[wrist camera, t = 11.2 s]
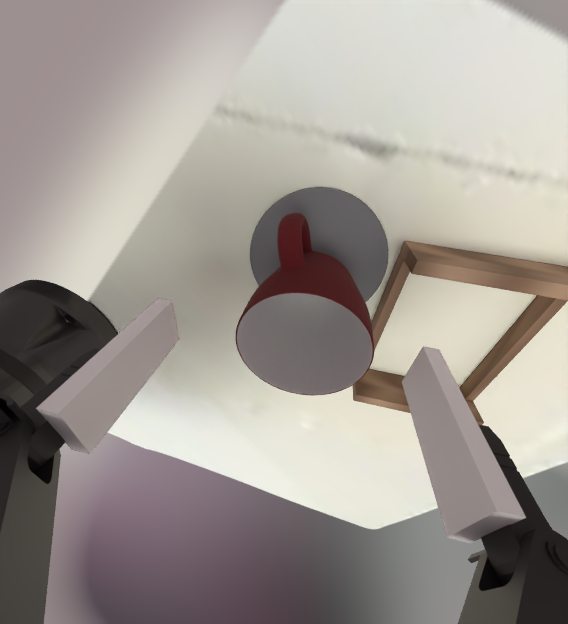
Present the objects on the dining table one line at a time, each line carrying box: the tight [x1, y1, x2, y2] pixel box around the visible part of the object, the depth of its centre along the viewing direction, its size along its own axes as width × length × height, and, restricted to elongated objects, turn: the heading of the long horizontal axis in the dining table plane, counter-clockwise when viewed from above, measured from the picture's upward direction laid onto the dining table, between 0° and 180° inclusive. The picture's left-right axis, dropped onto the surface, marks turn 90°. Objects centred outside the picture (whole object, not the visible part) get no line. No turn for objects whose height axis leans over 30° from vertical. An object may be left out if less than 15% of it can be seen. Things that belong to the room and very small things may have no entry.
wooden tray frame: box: [353, 241, 568, 425], centre depth 22 cm, size 13×16×4 cm
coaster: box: [250, 187, 388, 302], centre depth 22 cm, size 12×12×1 cm
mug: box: [236, 213, 374, 395], centre depth 18 cm, size 11×8×10 cm
